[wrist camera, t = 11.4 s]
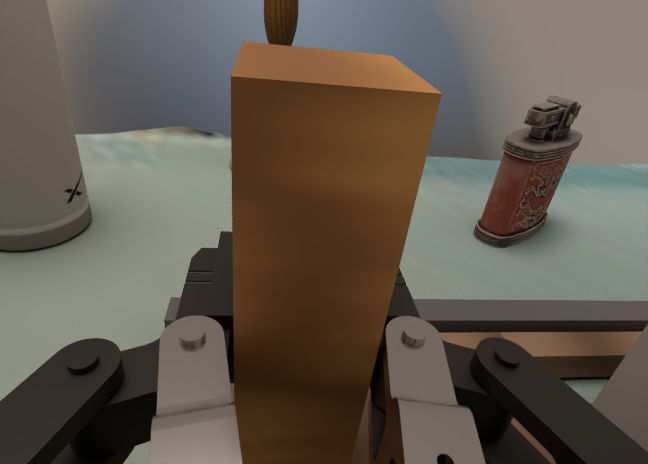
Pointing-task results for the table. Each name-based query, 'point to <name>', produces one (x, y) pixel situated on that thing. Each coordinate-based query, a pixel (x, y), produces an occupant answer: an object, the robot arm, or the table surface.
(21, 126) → the travel mug
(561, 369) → the brown post on base
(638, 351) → the can
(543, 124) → the lighter
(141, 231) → the table surface
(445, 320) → the rail
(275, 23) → the hand bell
